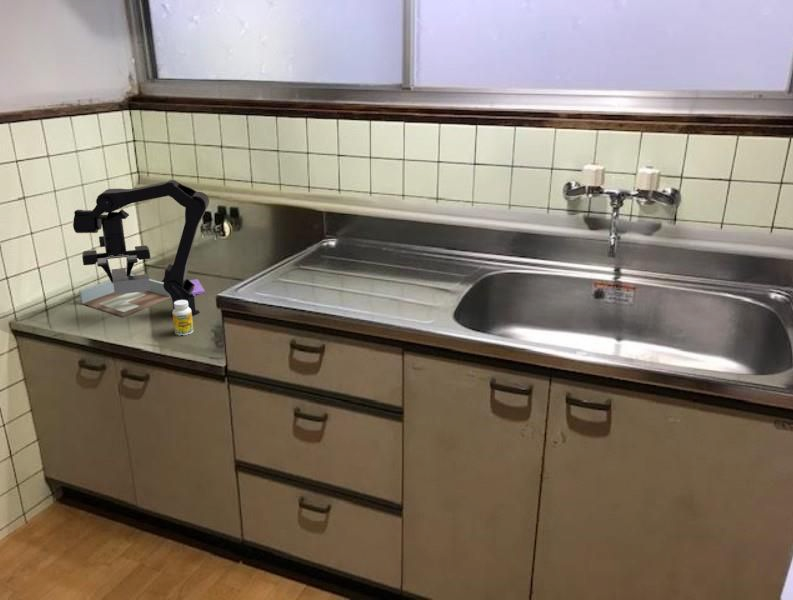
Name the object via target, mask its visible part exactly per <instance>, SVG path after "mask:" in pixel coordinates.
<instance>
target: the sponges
mask: <svg viewBox="0 0 793 600" xmlns="http://www.w3.org/2000/svg"><path fill="white" fill-rule="evenodd" d="M189 281H191V282H192V283H193V284H194V285H195V286H194V289H193V291H192V294H193V295H195V296H197V295H196V294H201V293H204V292H205V293H206V290H205V289H204V287H203V286H202V283H200V281H199V279H198V278H197V279H190V280H189Z"/></svg>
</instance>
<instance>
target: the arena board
mask: <svg viewBox="0 0 793 600" xmlns="http://www.w3.org/2000/svg"><path fill="white" fill-rule="evenodd" d="M169 299H172V298H171V297H169V296H165V295H162V294H158V293H154V292H151V291H143V292H135V293H126V294H118V295H115V293H114V292H113V293H110V294H107V295H105V296H102V297H99V298H96V299H94V300H91V301H88V302H85V303H82V304H81V305H83V304H84V306H86V305H88V306H87V307H89V306H90V307H89V308H93V307H94V308H93V309H96V308H97V310H100V311H102V312H105V313H110V314H113V315H115V314H116V315H115V316H118V315H119V316H118V317H120V318H121V317H122V318H125V317H128V316H130V315H132V314H135V313H137V312H140V311H142V310H144V309H147V308H149V307H151V306H154V305H157V304H160V303H162V302H164V301H166V300H169Z"/></svg>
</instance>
